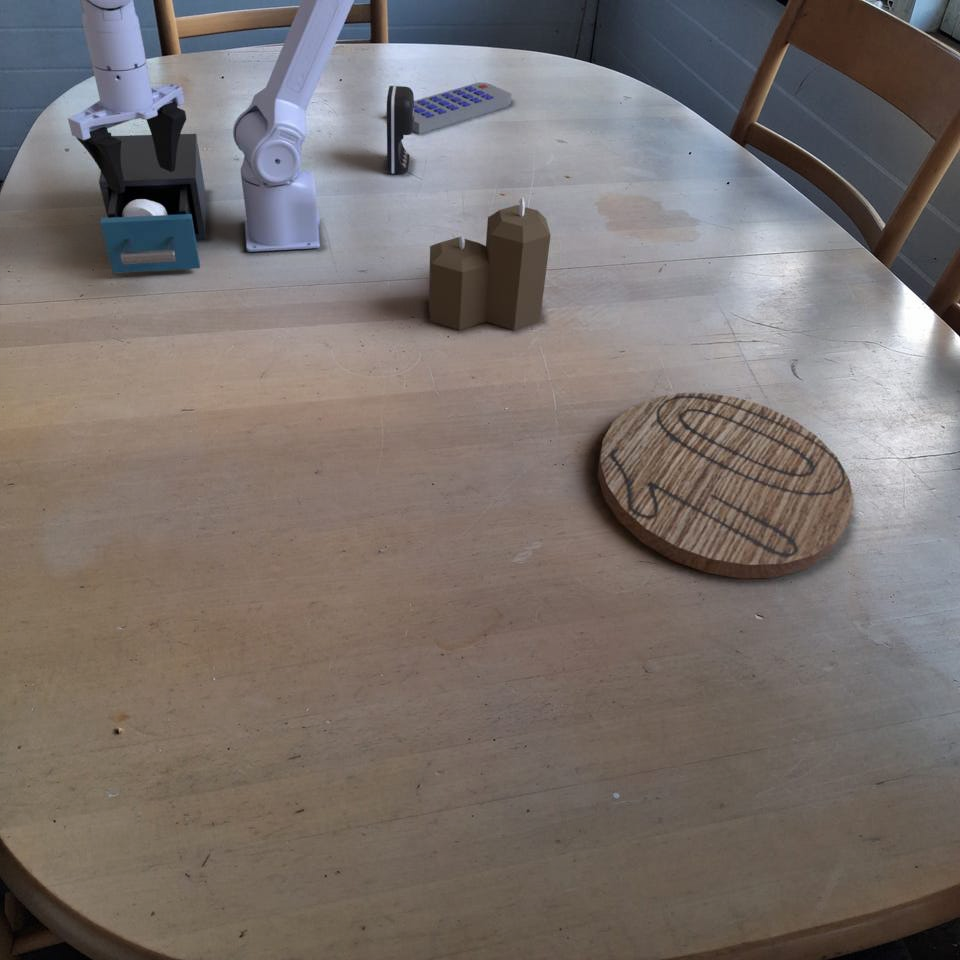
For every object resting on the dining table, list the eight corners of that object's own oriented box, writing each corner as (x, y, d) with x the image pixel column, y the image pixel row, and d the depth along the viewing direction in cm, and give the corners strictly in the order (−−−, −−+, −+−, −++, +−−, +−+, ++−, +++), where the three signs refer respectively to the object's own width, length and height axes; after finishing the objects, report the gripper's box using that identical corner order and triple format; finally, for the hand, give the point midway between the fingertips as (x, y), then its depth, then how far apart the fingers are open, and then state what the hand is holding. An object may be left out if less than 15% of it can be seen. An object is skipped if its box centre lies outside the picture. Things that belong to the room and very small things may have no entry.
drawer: (199, 288, 110) (191, 237, 105) (109, 294, 108) (96, 242, 103) (200, 220, 122) (192, 172, 117) (118, 224, 120) (107, 175, 115)
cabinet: (205, 239, 120) (195, 178, 114) (113, 244, 118) (98, 181, 112) (205, 192, 129) (196, 133, 124) (120, 196, 127) (106, 135, 121)
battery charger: (412, 176, 137) (412, 100, 129) (386, 175, 137) (386, 99, 129) (414, 156, 142) (415, 82, 134) (390, 155, 142) (389, 81, 134)
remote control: (388, 119, 153) (388, 106, 151) (485, 90, 164) (485, 77, 163) (419, 135, 149) (419, 122, 147) (516, 104, 160) (517, 91, 159)
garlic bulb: (184, 226, 117) (171, 185, 114) (169, 244, 112) (155, 201, 109) (143, 230, 118) (129, 189, 114) (127, 248, 113) (112, 205, 110)
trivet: (803, 622, 79) (810, 608, 78) (553, 504, 88) (555, 490, 86) (874, 465, 95) (881, 451, 94) (657, 378, 104) (660, 365, 102)
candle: (560, 294, 115) (575, 183, 105) (518, 349, 106) (531, 232, 96) (464, 266, 119) (470, 156, 109) (415, 316, 110) (417, 201, 100)
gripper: (87, 89, 94) (115, 210, 103) (194, 54, 103) (211, 169, 112) (44, 71, 96) (75, 191, 106) (152, 39, 105) (172, 152, 115)
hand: (142, 179), depth 109 cm, fingers open, 7 cm apart
